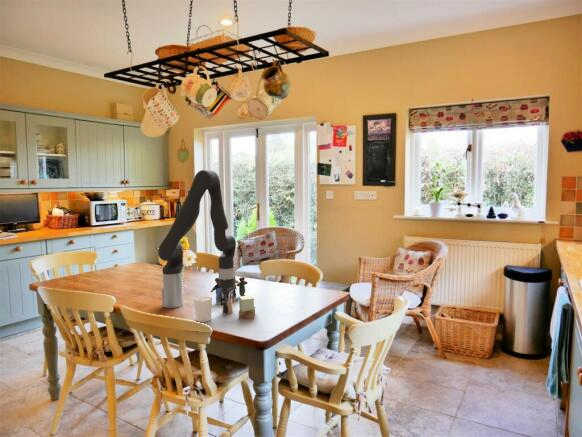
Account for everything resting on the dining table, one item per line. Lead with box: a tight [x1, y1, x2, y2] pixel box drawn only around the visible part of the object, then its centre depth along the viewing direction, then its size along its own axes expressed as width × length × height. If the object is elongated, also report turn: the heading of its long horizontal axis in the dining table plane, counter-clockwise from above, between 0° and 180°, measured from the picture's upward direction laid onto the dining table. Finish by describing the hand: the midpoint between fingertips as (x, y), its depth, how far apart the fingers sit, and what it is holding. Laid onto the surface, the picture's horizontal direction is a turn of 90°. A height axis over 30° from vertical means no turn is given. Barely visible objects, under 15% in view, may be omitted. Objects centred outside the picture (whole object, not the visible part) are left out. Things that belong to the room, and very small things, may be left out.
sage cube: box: [238, 294, 255, 312], centre depth 194 cm, size 6×6×6 cm
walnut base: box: [238, 306, 256, 320], centre depth 195 cm, size 7×7×4 cm
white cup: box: [193, 295, 213, 323], centre depth 192 cm, size 8×8×10 cm
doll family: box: [210, 275, 248, 305], centre depth 221 cm, size 23×9×13 cm, turn 152°
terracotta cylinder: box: [221, 299, 234, 315], centre depth 201 cm, size 5×5×6 cm
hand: (227, 310), depth 202 cm, fingers open, 5 cm apart
